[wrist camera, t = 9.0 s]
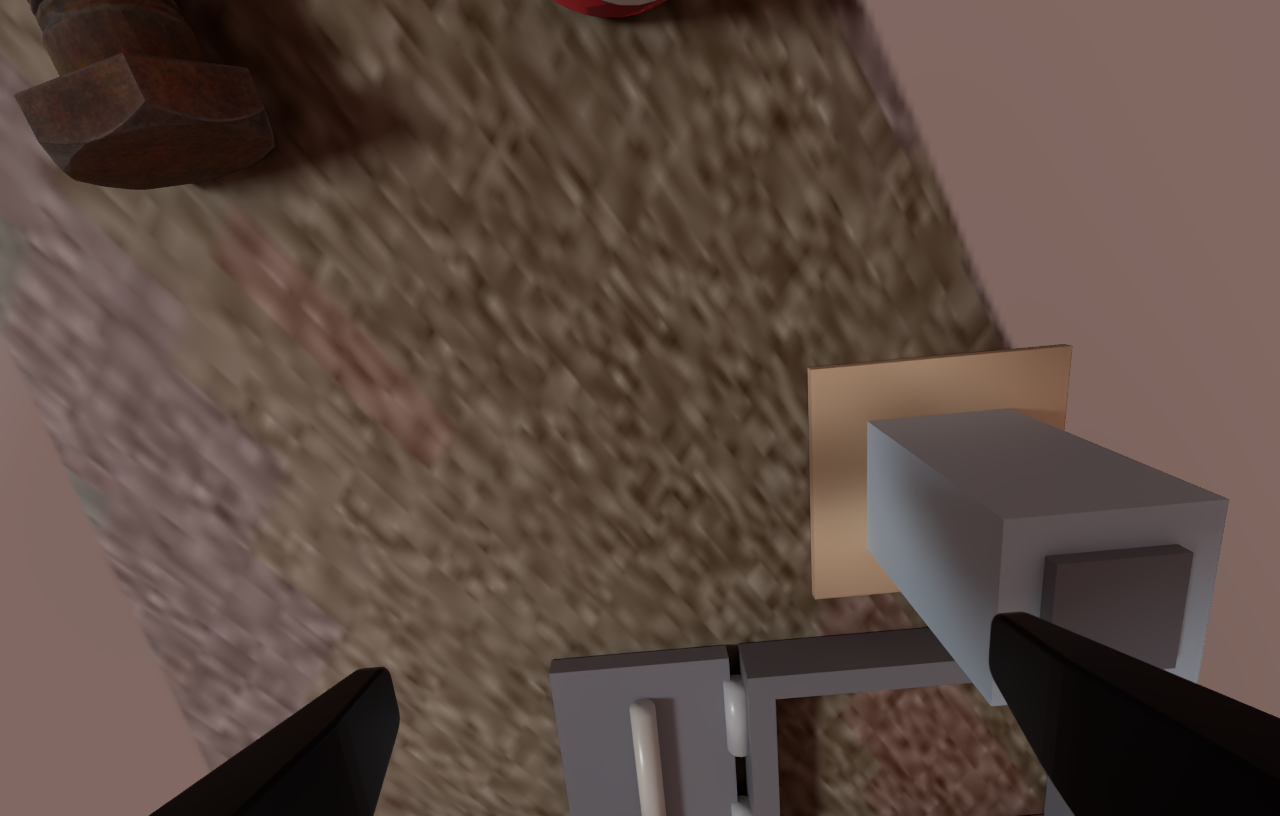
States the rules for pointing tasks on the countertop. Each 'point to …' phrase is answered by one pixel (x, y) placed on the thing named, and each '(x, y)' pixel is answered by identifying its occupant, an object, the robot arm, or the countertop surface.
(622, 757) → the case
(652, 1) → the soda can
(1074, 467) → the block
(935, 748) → the countertop surface
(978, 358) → the pad
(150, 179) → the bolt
